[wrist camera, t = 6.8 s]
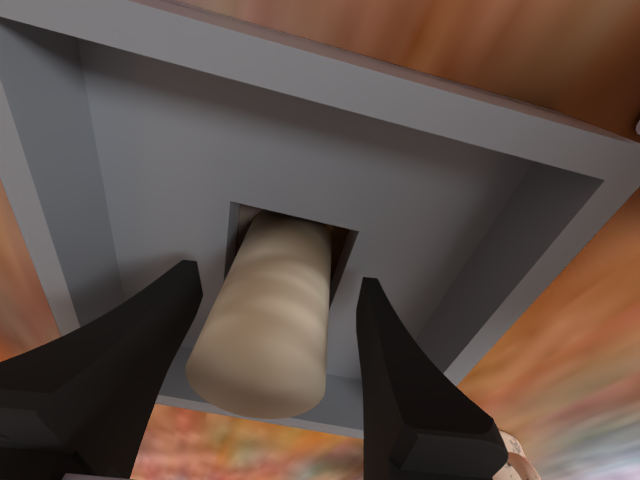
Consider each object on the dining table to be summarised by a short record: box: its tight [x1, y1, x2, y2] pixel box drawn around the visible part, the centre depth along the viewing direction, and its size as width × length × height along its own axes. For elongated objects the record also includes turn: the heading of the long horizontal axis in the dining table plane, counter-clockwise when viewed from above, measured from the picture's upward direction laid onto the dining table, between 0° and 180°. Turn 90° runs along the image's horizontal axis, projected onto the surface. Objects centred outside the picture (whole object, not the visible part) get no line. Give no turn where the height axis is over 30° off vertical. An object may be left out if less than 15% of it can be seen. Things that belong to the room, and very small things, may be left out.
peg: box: [185, 209, 332, 419], centre depth 13 cm, size 4×4×8 cm
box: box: [0, 0, 640, 439], centre depth 14 cm, size 18×18×5 cm
